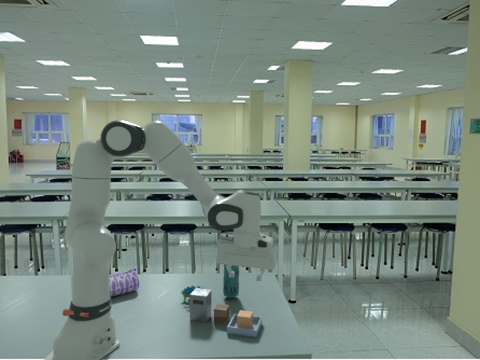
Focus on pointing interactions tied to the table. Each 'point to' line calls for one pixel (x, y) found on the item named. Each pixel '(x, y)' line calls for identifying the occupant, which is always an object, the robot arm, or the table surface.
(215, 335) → the table surface
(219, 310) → the walnut block
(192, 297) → the box
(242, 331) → the tray
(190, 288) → the gear
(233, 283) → the beverage bottle
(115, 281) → the pencil case
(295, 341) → the table surface
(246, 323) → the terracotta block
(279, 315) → the table surface
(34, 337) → the table surface
